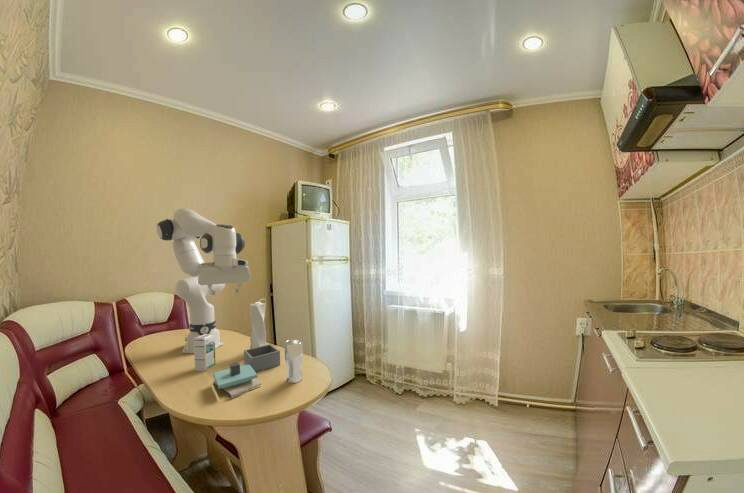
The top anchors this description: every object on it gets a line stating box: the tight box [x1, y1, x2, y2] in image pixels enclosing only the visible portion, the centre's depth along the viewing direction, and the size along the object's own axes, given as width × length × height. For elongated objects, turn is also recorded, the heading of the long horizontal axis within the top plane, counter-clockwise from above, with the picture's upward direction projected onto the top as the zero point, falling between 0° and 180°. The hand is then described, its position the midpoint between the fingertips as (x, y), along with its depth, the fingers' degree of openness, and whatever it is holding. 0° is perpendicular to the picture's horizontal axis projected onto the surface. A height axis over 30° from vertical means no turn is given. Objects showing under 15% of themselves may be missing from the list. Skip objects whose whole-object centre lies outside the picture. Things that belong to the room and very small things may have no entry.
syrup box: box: [193, 334, 216, 372], centre depth 124 cm, size 6×6×14 cm
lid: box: [212, 362, 258, 390], centre depth 107 cm, size 13×13×6 cm
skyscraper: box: [249, 298, 267, 349], centre depth 138 cm, size 8×8×28 cm
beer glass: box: [284, 339, 304, 384], centre depth 111 cm, size 7×7×15 cm
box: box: [243, 343, 281, 373], centre depth 124 cm, size 12×12×7 cm
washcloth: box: [213, 378, 262, 400], centre depth 108 cm, size 12×18×3 cm, turn 50°
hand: (225, 293), depth 121 cm, fingers open, 8 cm apart
